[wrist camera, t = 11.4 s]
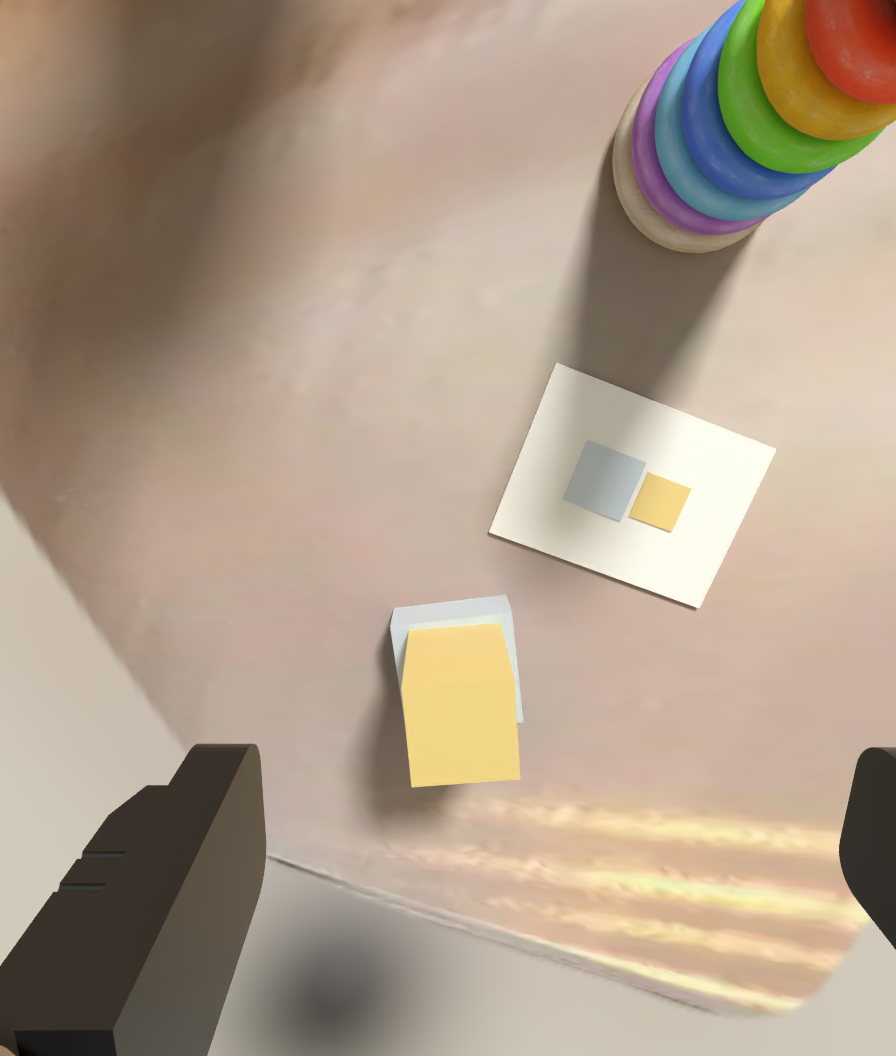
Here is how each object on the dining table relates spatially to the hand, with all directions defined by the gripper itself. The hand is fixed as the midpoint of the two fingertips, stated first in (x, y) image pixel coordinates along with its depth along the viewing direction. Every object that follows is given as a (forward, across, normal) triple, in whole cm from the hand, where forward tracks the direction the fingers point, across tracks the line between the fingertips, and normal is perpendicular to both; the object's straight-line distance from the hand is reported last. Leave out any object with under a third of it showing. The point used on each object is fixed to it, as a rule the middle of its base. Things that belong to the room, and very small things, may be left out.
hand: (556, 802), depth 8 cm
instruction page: (+24, -8, 0) cm, 25 cm away
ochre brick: (+21, 0, +9) cm, 23 cm away
